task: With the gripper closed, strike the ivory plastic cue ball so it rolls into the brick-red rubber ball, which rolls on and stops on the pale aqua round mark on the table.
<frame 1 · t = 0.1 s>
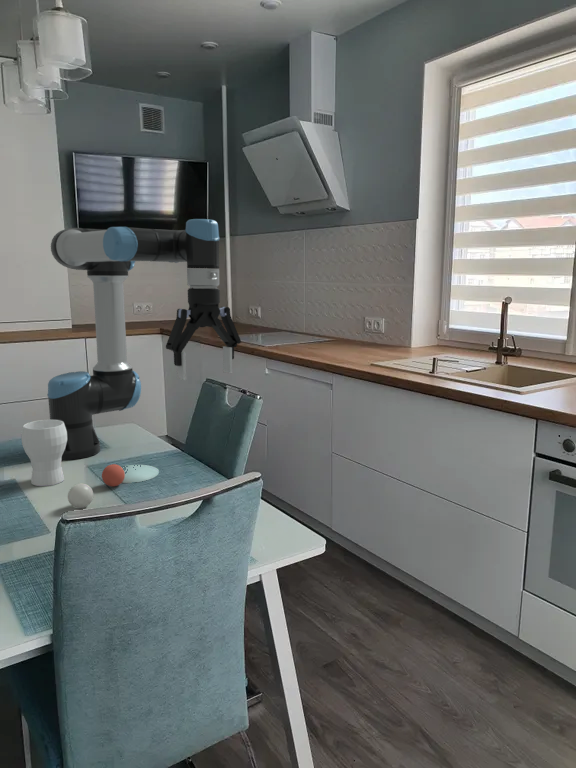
hand: (205, 376, 141), 28 cm above the table, tool pointing down, fingers open, 13 cm apart
object ball: (113, 475, 146), on the table
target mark: (131, 474, 155), on the table
cue ball: (80, 495, 132), on the table
cup: (48, 481, 149), on the table
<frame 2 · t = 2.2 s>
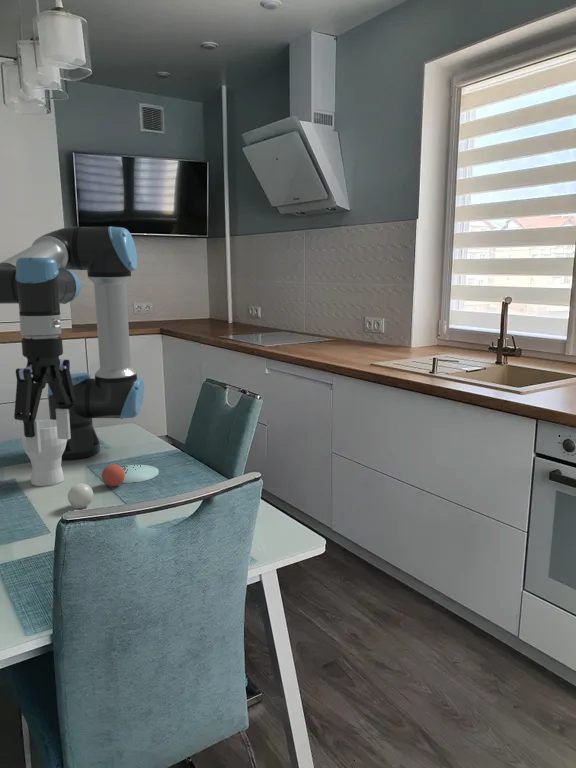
hand: (49, 444, 121), 17 cm above the table, tool pointing down, fingers open, 9 cm apart
nothing on the table moved.
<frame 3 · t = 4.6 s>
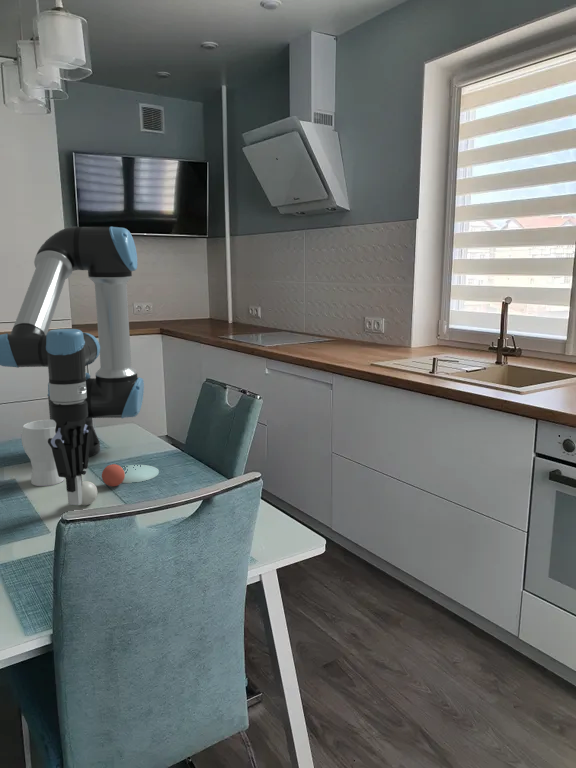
hand: (75, 503, 131), 2 cm above the table, tool pointing down, fingers closed
cue ball: (84, 493, 134), on the table
everything else where it was.
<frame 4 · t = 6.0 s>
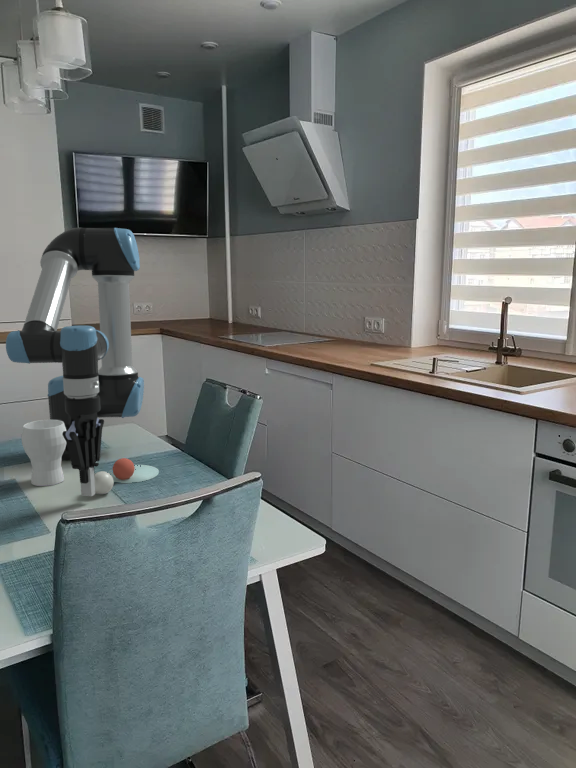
hand: (88, 494, 135), 2 cm above the table, tool pointing down, fingers closed
object ball: (123, 468, 150), on the table
cue ball: (101, 482, 140), on the table
everything else where it was.
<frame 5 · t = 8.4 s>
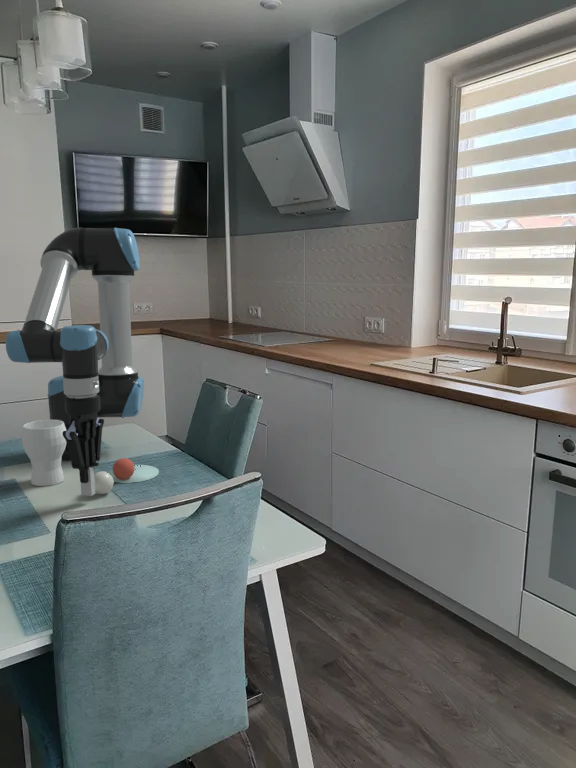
hand: (88, 494, 135), 2 cm above the table, tool pointing down, fingers closed
nothing on the table moved.
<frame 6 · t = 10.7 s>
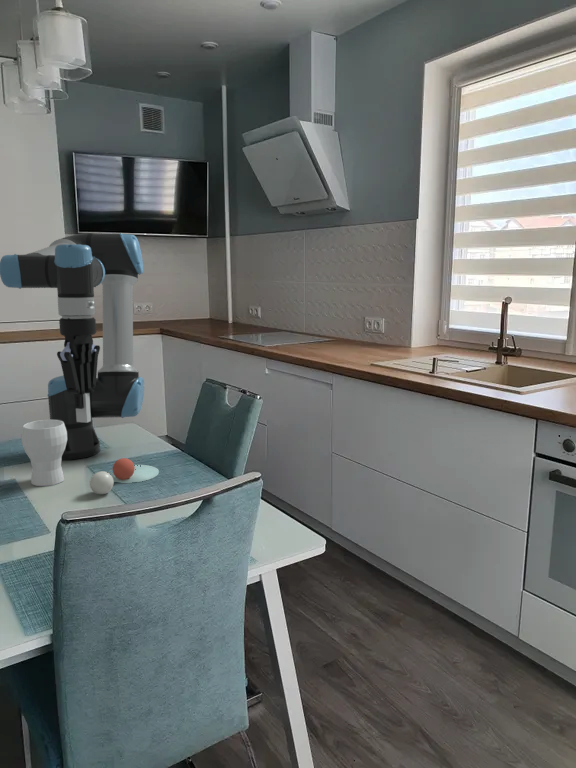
hand: (83, 421, 132), 19 cm above the table, tool pointing down, fingers closed
nothing on the table moved.
at the end: object ball 4.0 cm from the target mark (horizontally); object ball never touched the robot; cue ball first touched object ball at 4.9 s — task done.
